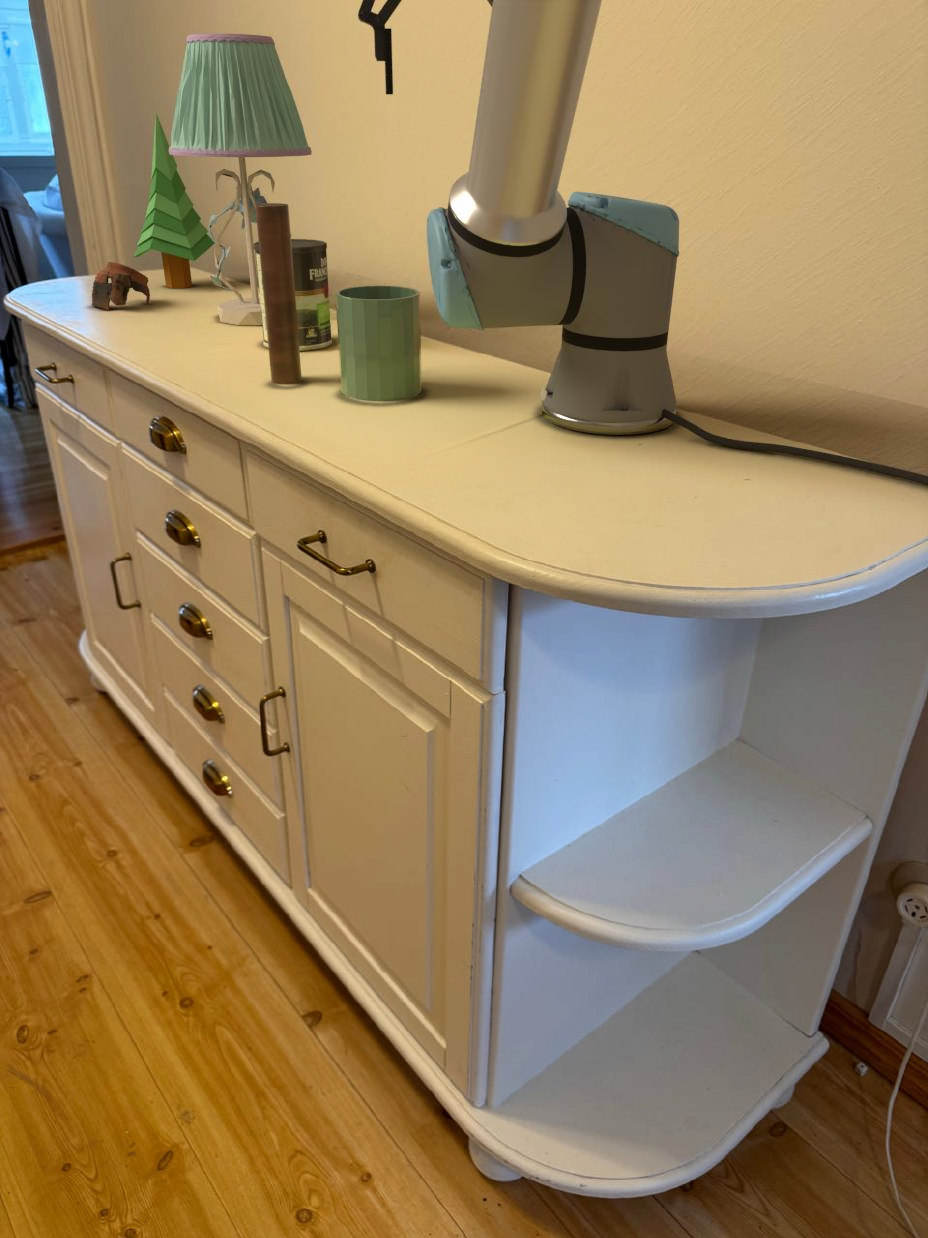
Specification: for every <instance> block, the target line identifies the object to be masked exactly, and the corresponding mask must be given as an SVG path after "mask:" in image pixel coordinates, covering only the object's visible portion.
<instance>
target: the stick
mask: <svg viewBox="0 0 928 1238" xmlns="http://www.w3.org/2000/svg"><path fill="white" fill-rule="evenodd" d="M255 208H256V219H257V224H256V228H257V229H256V230H257V238H258V242H259V251H260V262H261V273H262V283H263V294H264V305H265V316H266V327H267V338H268V348H267V349H268V359H269V368H270V369H269V370H270V379H271V383H273V384H275V385H294V384H295V385H296V384H299V383H301V382H302V381H303V379H302V366H301V365H302V364H301V353H300V352H301V351H299V338H298V325H297V312H296V299H295V285H294V272H293V259H292V246H291V239H292V233H290V232H291V223H290V222H291V221H290V207H289V204H287V203H282V202H281V203H279V202H274V203H273V202H270V203H269V202H267V203H264V204H256V205H255Z"/></svg>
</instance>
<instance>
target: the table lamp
mask: <svg viewBox="0 0 928 1238" xmlns="http://www.w3.org/2000/svg"><path fill="white" fill-rule="evenodd" d="M185 44H186V47H185V51H184V52H185V53H184V58H183V63H182V69H181V75H180V79H179V85H178V88H177V93H176V100H175V106H174V113H173V120H172V128H171V134H170V135H171V136H170V137H171V138H170V139H171V141H170V145H169V146H170V147H169V154H170V155H173V156H178V157H179V156H181V157H182V156H183V157H198V158H199V157H202V158H203V157H205V158H206V157H207V158H238V166H239V176H238V174H237V173H236V172H235V171H233V170H229V169H226V168H223V169H221V170H219V171H217V172H215V174H214V181H213V185H214V188H215V191H216V192H218V182H219V179H220V178H221V176H225V177H229V178H232V179H233V180H234V181H235V182H236V186H235V188H236V195H235V196H236V197H235V198H234V200H233V201H232V202H230V203H229V204H228V205H227V206H226V207H225V208H224V209H223V210H222V211H221V212H219V213H218V214H217V215H216V214H212V215H211V216H210V218H209V221H208V229H207V230H208V232H207V233H208V236H209V237H210V238H211V239H212V241H213V242H214V243H215V244H214V248H213V255H214V256H213V257H214V266H215V268H216V274H215V276H212V275H209V276H210V279H211V281H212V283H213V284H214V285H215V286H217V287H219V288H223V289H224V290H226V291H228V292H232V293H233V294H235V295H236V296H237V298H238V299H228V300H226V301H223V302H220V303H218V304H216V308H217V312H218V316H219V322H220V323H224V324H230V325H236V326H262V318H261V307H260V298H259V287H258V277H257V266H256V255H255V250H254V245H253V244H254V235H253V225H252V224H253V223H254V224H256V225H257V219H256V208H255V205H256V204H264V203H268V201H267V199H266V197H265V196H264V195H261V191H260V187H256V188H255V189H254V190H253V186H252V182H253V181H254V178H256V177H258V176H261V175H262V176H264V177H266V178H267V179H269V181H270V185H271V190H272V192H274V190H275V185H276V182H275V180H274V178H273V176H272V174H271V172H268V171H265V170H263V169H259V170H257V171H254V172H253V173H251V174H249V175H247V166H246V158H282V157H283V158H284V157H286V158H287V157H304V156H305V157H306V156H312V155H313V154H312V152H313V151H312V148H311V146H309V143H308V140H307V137H306V132H305V129H304V125H303V123H302V119H301V117H300V114H299V110H298V107H297V105H296V101H295V99H294V95H293V93H292V90H291V88H290V85H289V82H288V81H287V78H286V74H285V72H284V69H283V66H282V63H281V60H280V57H279V55H278V51H277V49H276V43H275V40H274V39H273V37H272V36H268V35H260V34H245V33H193V34H188V35H187V36H186V41H185ZM229 210H231V211H230V212H229V214H228V216H227V218H226V220H225V221H224V224H223V225H222V227H221V229H220V231H219V233H218V235H217V239H215V237H214V235H213V232H212V227H213V225H214V224H216V223H217V220H218V218H219V217H220V216H222V215H224V214H226V213H227V212H228V211H229ZM236 212H238V213H240V214H241V216H242V221H241V230H244V229H245V239H246V240H245V241H246V250H247V261H248V271H249V281H250V293H251V297H248V298H244V297H243V295H242V294H241V292H239V291H238V290H237V289H236V288H235V287H234V286H233V285H232V283H230V282H229V281H228V280H227V279H226V277H225V274H224V271H223V269H222V266H223V263H224V261H225V260H226V258H227V256H228V255H229V253H230V251H231V247H232V245H229V246H228V247H227V248H226V247H225V246H223V245H222V244H221V239H222V237H223V235H224V234H225V232H226V230H227V228H228V227H229V224H230V223H231V221H232V219H233V217H234V215H235V213H236ZM290 233H291V231H290ZM291 234H292V233H291ZM220 248H221V250H222V251H221V258H220ZM219 258H220V260H219ZM220 279H221V280H220Z"/></svg>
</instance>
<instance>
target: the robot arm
mask: <svg viewBox="0 0 928 1238" xmlns="http://www.w3.org/2000/svg"><path fill="white" fill-rule="evenodd" d="M375 1H376V0H362V1H361V4H360V7H359V9H358V13H357V19H358V20H359V21H360V23H364V24H366V25H368V26H370V27H371V28H372V29H373V38H374V58H375V60H376V62H384V77H385V79H384V81H385V95H394V77H393V76H394V74H393V72H394V71H393V39H392V38H393V37H392V28H390V27H389V28H387V27H386V24H387V22H388V21H389V19H390V18H391V17H392V15H393V14H394V12H395V11H396V9H398V7H399V5H400V4H401V2H402V1H403V0H386V1H385V2H384V4H383V5H382V7H381V8H380V10H379V11H378V13H376V12H373V11H372V10H373V7H374V5H375V3H376V2H375ZM486 1H487V2H488V4H489V5H490V7H491V13H490V20H489V28H488V33H487V34H488V35H487V40H486V41H487V42H486V47H485V56H484V62H483V69H482V76H481V83H480V90H479V95H478V96H479V97H478V102H477V103H478V105H477V110H476V117H475V123H474V124H475V125H474V132H473V138H472V146H471V152H470V160H469V167H468V172H466V173H464V174H462V175H461V176H460V177H458V178H457V179H456V180H455V181H454V183H453V184H452V186H451V188H450V192H449V195H448V203H447V208H445V207H442V206H438V208H435V209H432V210H430V211H429V213H428V215H427V219H426V245H427V257H428V264H429V273H430V279H431V286H432V291H433V296H434V300H435V304H436V308H437V310H438V314H439V316H440V318H441V319H442V321H443V322H444V324H445V325H447V326H448V327H450V328H454V329H468V330H478V331H484V330H485V329H501V328H502V329H504V328H518V327H519V328H521V327H542V326H543V327H544V326H545V327H546V326H562V330H561V344H560V349H559V350H558V351H559V352H558V354H557V357H556V359H555V361H554V365H553V367H552V370H551V373H550V376H549V378H548V380H547V383H546V386H542V389H541V391H540V398H541V401H542V402H541V414H542V415H541V416H542V417H543V418H544V419H545V420H546V421H548V422H550V423H552V424H554V425H556V426H559V427H561V428H564V429H568V430H573V431H577V432H583V433H589V434H590V433H591V434H597V435H612V436H613V435H617V436H618V435H620V436H621V435H622V436H623V435H624V436H625V435H640V434H641V435H642V434H648V433H654V432H657V431H662V430H663V429H666V428H668V427H670V426H671V425H673V424H676V425H678V426H680V427H682V428H684V429H686V430H687V431H689V432H691V433H692V434H694V435H696V436H698V437H699V438H700V439H703V440H705V441H708V442H709V443H713V444H715V445H720V446H723V447H728V448H733V449H740V450H746V451H747V450H748V451H758V452H768V453H776V454H784V455H789V456H796V457H801V458H806V459H810V460H816V461H822V462H827V463H832V464H835V465H842V466H846V467H850V468H854V469H858V470H863V471H867V472H872V473H876V474H881V475H885V476H888V477H894V478H898V479H902V480H905V481H909V482H913V483H917V484H922V485H924V486H928V475H926V474H922V473H918V472H914V471H910V470H907V469H902V468H897V467H893V466H888V465H884V464H881V463H877V462H872V461H871V462H870V461H867V460H862V459H857V458H852V457H848V456H844V455H838V454H834V453H829V452H823V451H818V450H813V449H808V448H801V447H797V446H791V445H785V444H779V443H778V444H777V443H768V442H758V441H748V440H747V441H746V440H740V439H734V438H728V437H723V436H720V435H717V434H713V433H711V432H708V431H706V430H705V429H703V428H701V427H700V426H698V425H696V424H694V423H693V422H691V421H690V420H687V419H685V418H684V417H682V416H680V415H677V397H676V393H675V387H674V382H673V377H672V372H671V367H670V362H669V358H668V351H667V348H668V341H669V340H668V338H669V330H670V324H671V323H670V322H671V312H672V304H673V297H674V289H675V281H676V271H677V263H678V257H679V255H680V250H679V249H680V247H679V246H680V245H679V244H680V219H679V215H678V214H677V213H678V212H676V210H675V209H674V208H672V207H671V206H669V205H666V204H661V203H657V202H651V201H645V200H640V199H635V198H629V197H628V198H627V197H622V196H621V197H620V196H614V195H609V194H608V195H607V194H603V193H601V194H600V193H594V192H585V191H573V192H572V193H571V194H570V196H569V199H568V200H567V203H566V201H565V200H564V198H563V196H562V195H561V193H560V192H559V190H558V188H559V184H560V180H561V176H562V171H563V169H564V168H563V167H564V163H565V159H566V155H567V150H568V146H569V141H570V138H571V134H572V129H573V125H574V120H575V116H576V113H577V107H578V104H579V99H580V95H581V91H582V87H583V83H584V78H585V73H586V70H587V65H588V61H589V57H590V53H591V48H592V44H593V40H594V36H595V31H596V27H597V23H598V18H599V14H600V11H601V7H602V2H603V0H486Z"/></svg>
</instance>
